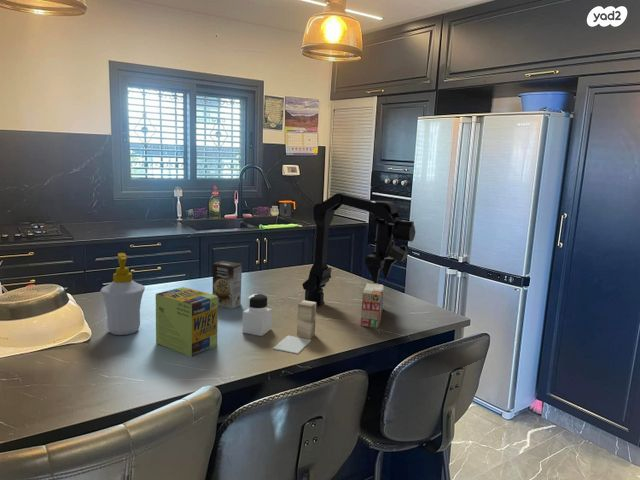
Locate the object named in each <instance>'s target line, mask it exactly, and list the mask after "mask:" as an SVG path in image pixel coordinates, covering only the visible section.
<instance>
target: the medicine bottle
mask: <svg viewBox="0 0 640 480" xmlns="http://www.w3.org/2000/svg"><path fill="white" fill-rule="evenodd" d="M247 303H248V304H247V305H248V306H247V309H245V310H243V312H242V333H244V334H250V335H254V336H259V337H260V336H261V337H263V336H264V335H265V334H267V333H268V332H269V331H270V330H272V318H273V317H272V316H273V309H272V308H268V297H267V295H265V294H263V293H262V294H261V293H254V294H251V295H249V296H248V302H247Z"/></svg>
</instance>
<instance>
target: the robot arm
mask: <svg viewBox="0 0 640 480" xmlns="http://www.w3.org/2000/svg"><path fill="white" fill-rule="evenodd" d="M342 206H346V207H349V208H354V209H357V210H362V211H365V212H368V213H369V214H371V215H373V216H374V217H375V218H374V219H373V220H372V221H371V222H370V223H371V224H374V225H376V231H375V232H376V233H375V239H373V243H374V244H375V245H374V250H373V251H372V254H368V255H366V256H365V257H364V258H363V264H364V265H365V266H366V267H367V269H368V272H369V274H370V277H371V280H372V281H373V284H378V282H379V277H380V272H381V269H382V274H383V278H384V279H387V278H388V276H389V274H390V271H391V269H392V267H393V264H394V263H396V262H399V263H402V262H403V261H405V260H406V257H407V256H408V254H409V251H408V246H406V245H401V246H398V245H395V243H396V242H395V240H399V241H404V242H411V243H412V242H413V241H414V239H415V237H416V228H415V225H414V224H415V222H414V221H412V220H403V219H402V217H401V215H400V213H399V212H398V208H397V205H396V203H395V202H394V201H389V200H388V201H387V200H371V199H368V198H363V197H360V196H356V195H352V194H349V193H345V192H337V193H334V194H333V195H332V196H331V197H328V198H327V199H326V200H323V201H322V202H318V203H316V204H315V205H314V206H313V207H312V217H313V218H312V219H313V221H314V223H315V243H314V254H313V255H314V257H313V264H312V265H311V268H310V270H309V274H308V278H307V279H306V280H304V282H303V283H302V288H303V290H304V291H305V292H304V300H306V301H312V302H316V308H317V307H319V306H321V305H323V304H325V301H324V300H325V299H324V298H325V296H324V295H325V294H324V288H325V287H326V285H327V283H329V281H330V279H331V278H332V275H331V273H332V269H333V268H332V267H329V266H328V264H327V262H328V261H327V260H328V248H329V247H328V246H329V235H330V234H329V233H330V225H331V223H332V221H333V220H334V217H335V216H334V215H335V211H337V210H338V209H340V207H342ZM393 238H394V239H395V240H393Z"/></svg>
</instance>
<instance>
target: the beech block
mask: <svg viewBox="0 0 640 480" xmlns="http://www.w3.org/2000/svg"><path fill="white" fill-rule="evenodd" d="M316 315H317V307H316V302H312V301H306V300H305V299H303V300H301V301H300V302H299V303H297V321H296V322H297V323H296V337H299V338H304V339H310V340H312V338H313V337H315V335H316V322H317V319H316V318H317V316H316Z"/></svg>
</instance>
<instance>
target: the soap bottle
mask: <svg viewBox="0 0 640 480" xmlns="http://www.w3.org/2000/svg"><path fill="white" fill-rule="evenodd" d="M117 257H118V259H117V260H118V265H119V267H116V270H115V273H113V275H112V282H111V283H109V284H108V285H107V284H106V285H105V286H103V287H102V288H101V289H100V294H101V296H102V298H103V301H104V306H105V309H106V310H105V311H106V322H107V324H106V325H107V329H108V332H109V333H111V334H112V335H115V336H116V335H117V336H127V335H132V334H134V333H136V332H138V330H139V329H140V326H141V305H142V298H143V294H144V293H145V290H146V289H145V287H146V286H144V285H143V284H142V283H141V284H140V283H138V282H136V281H135V280H133V273H132V272H130V271H129V270H130V268H129V267H127V266H126V263H127V254H126V253H124V252H118V253H117Z"/></svg>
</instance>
